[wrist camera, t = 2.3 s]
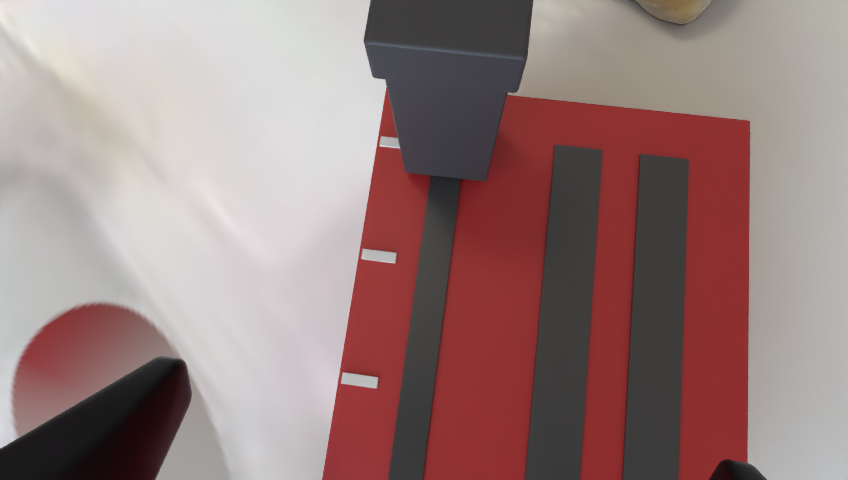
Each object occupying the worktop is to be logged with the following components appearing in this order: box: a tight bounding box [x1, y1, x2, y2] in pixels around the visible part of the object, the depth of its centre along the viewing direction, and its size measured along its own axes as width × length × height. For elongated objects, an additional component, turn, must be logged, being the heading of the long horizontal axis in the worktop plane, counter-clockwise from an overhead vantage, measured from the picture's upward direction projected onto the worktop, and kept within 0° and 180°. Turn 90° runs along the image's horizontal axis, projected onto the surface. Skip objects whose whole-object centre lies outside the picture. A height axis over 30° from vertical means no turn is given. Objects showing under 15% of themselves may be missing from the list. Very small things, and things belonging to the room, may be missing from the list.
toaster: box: [322, 87, 750, 480], centre depth 18 cm, size 16×11×8 cm
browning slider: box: [364, 0, 533, 182], centre depth 12 cm, size 2×3×7 cm
